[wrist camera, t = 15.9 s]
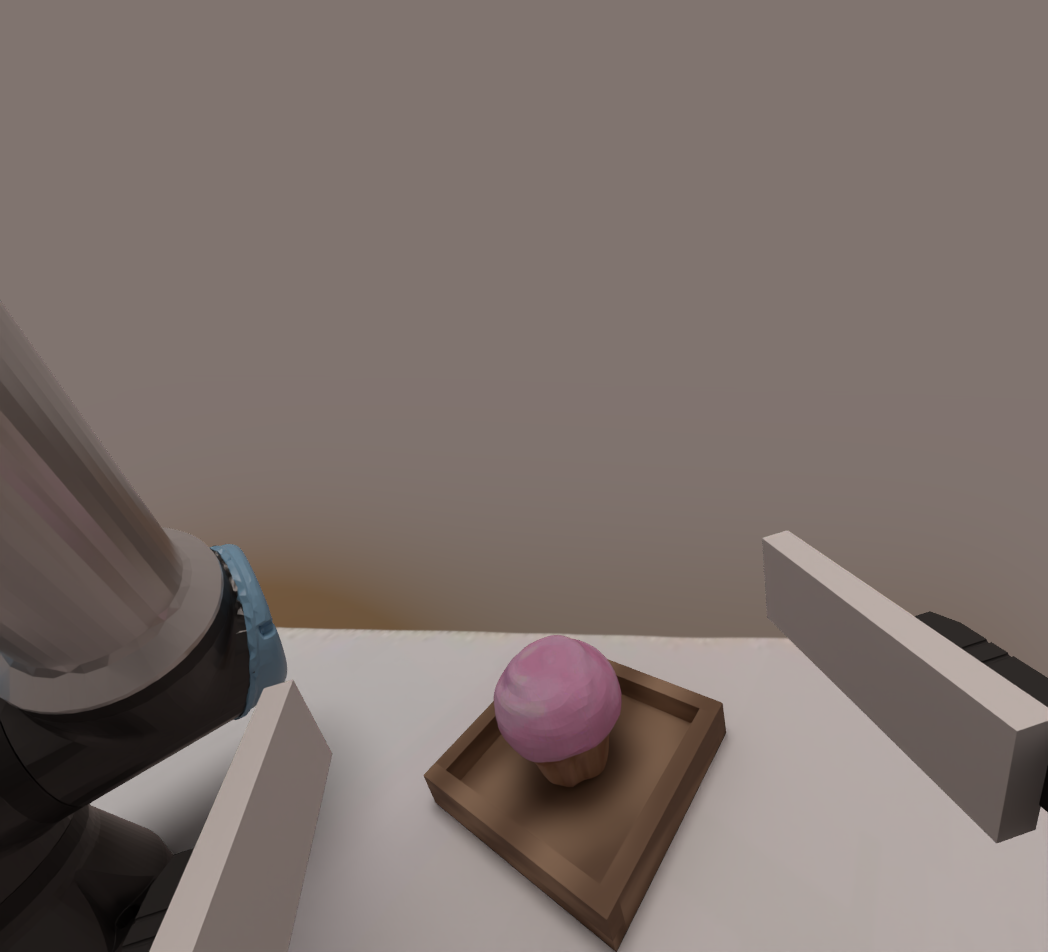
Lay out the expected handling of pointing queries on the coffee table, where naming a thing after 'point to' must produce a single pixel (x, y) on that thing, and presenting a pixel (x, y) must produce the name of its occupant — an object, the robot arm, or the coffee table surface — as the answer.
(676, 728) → the serving tray
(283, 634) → the coffee table surface
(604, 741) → the cupcake
